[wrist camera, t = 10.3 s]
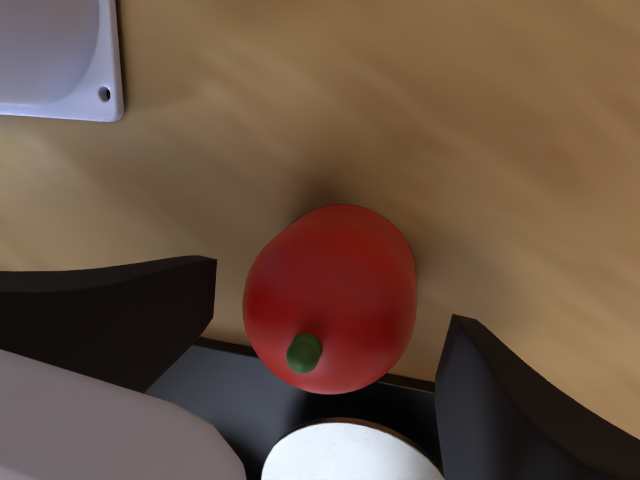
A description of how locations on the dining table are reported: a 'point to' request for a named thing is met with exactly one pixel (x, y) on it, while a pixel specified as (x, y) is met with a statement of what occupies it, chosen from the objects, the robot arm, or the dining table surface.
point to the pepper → (332, 300)
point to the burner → (347, 453)
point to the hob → (285, 402)
